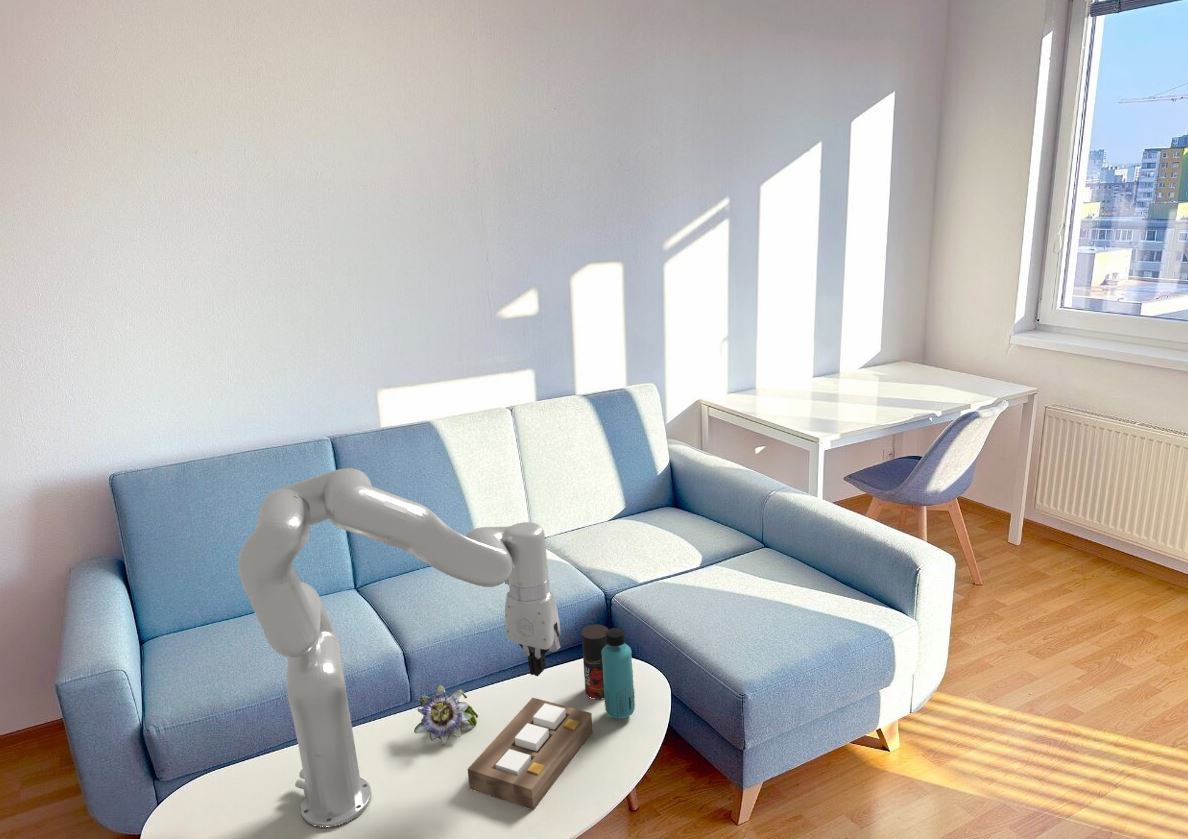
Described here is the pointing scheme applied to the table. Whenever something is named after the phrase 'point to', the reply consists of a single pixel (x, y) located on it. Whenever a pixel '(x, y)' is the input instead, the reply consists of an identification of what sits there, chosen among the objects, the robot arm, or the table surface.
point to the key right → (549, 716)
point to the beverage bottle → (617, 675)
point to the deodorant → (593, 659)
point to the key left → (513, 762)
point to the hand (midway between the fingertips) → (537, 671)
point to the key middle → (531, 737)
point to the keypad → (543, 762)
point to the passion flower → (444, 714)
